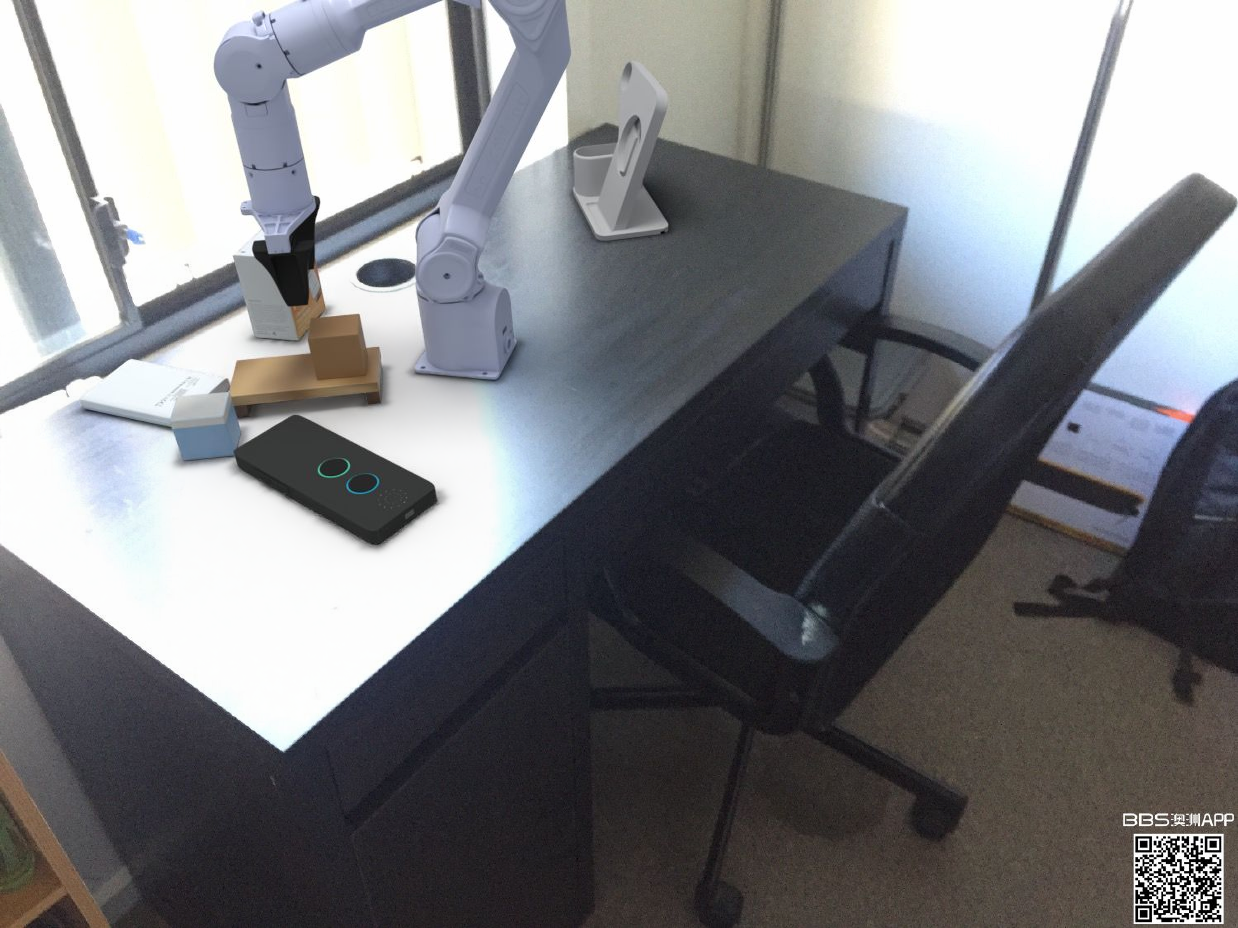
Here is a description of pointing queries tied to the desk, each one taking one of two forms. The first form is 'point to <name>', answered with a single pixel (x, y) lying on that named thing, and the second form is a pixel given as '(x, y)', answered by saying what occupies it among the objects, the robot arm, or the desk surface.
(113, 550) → the desk surface
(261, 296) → the small box
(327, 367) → the brown carton
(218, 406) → the blue carton
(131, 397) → the hard drive
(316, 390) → the wooden stand
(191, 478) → the desk surface
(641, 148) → the phone holder
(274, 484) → the smart home device
